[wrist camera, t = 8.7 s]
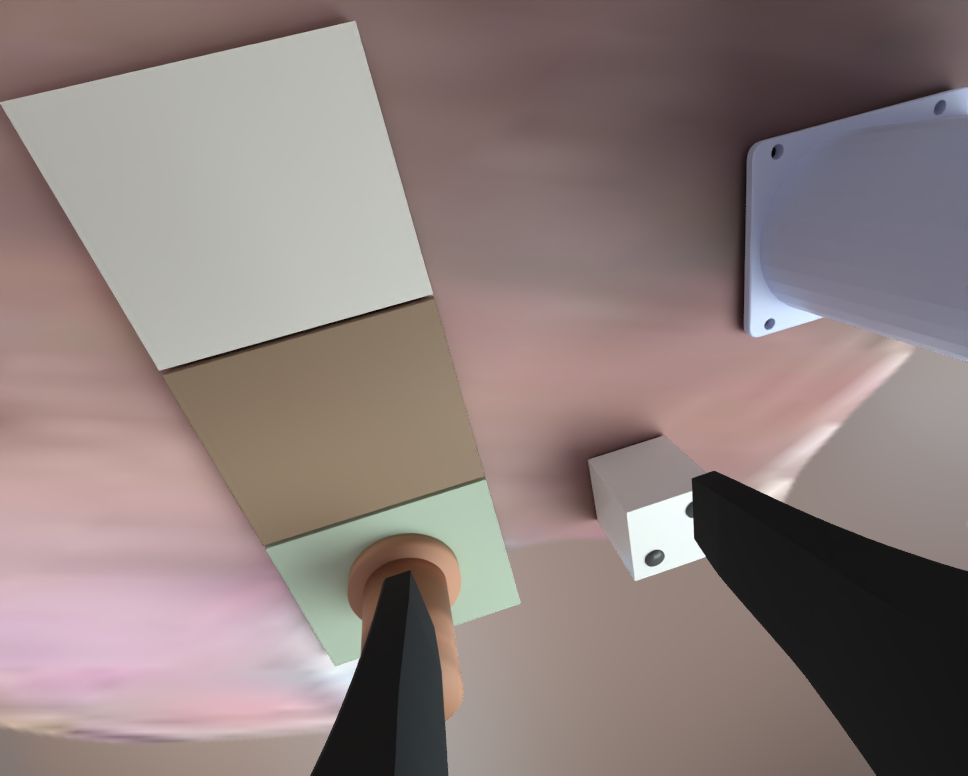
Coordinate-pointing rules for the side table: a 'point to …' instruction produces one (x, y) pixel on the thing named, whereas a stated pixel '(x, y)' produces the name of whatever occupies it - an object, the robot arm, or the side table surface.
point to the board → (282, 303)
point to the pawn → (436, 585)
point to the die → (647, 505)
